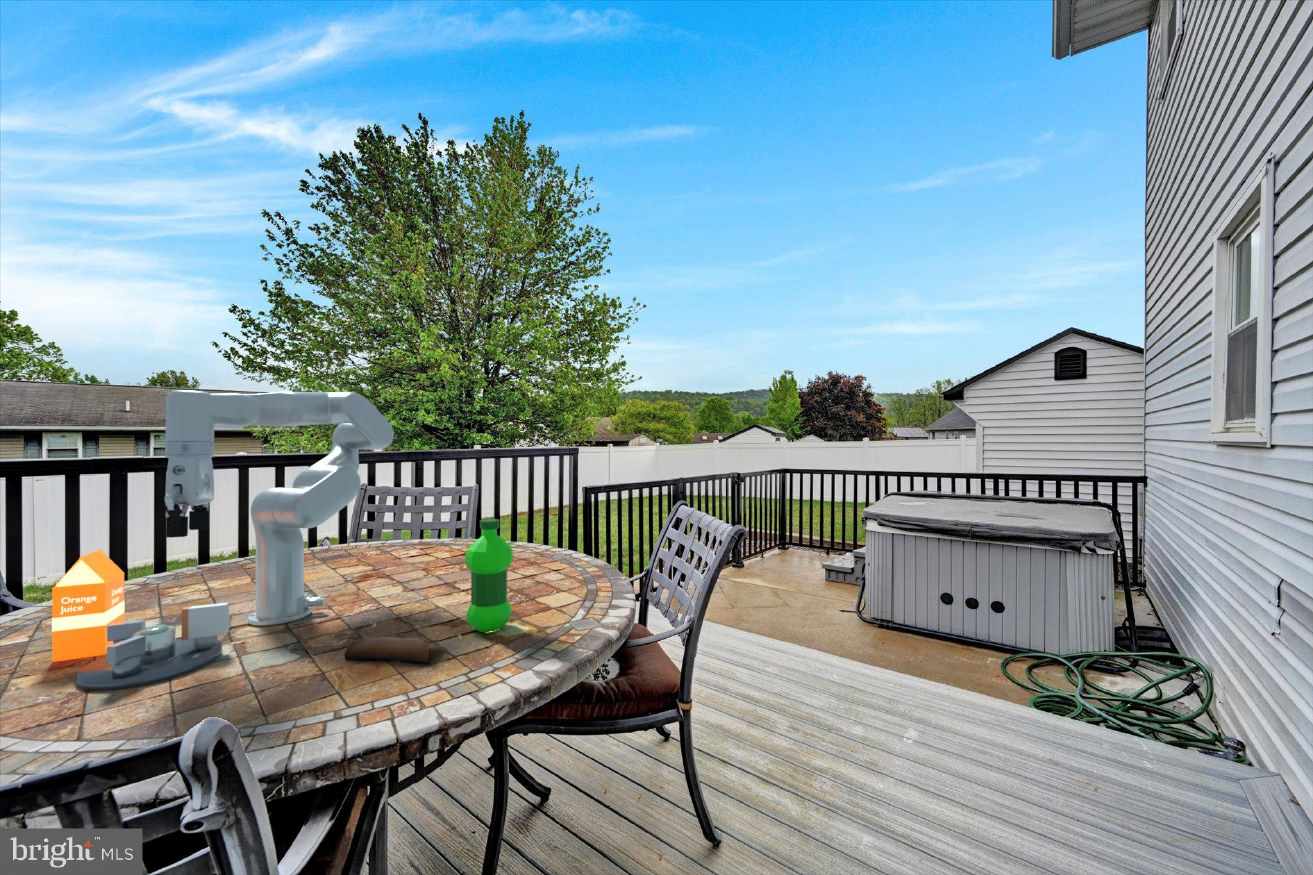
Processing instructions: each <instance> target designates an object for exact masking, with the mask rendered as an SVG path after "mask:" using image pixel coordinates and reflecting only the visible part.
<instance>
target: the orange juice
mask: <svg viewBox="0 0 1313 875" xmlns="http://www.w3.org/2000/svg"><path fill="white" fill-rule="evenodd" d="M51 588H52V589H51V590H52V595H51V596H52V597H51V598H52V602H51V603H52V604H51V605H52V611H51V613H52V616H51V633H52V644H51V645H52V648H51V653H52V655H51V656H52V657H51V661H52V663H55V662H63V661H69V660H76V659H84V658H92V657H98V656H106V655H107V646H110V645H113V641H109V642H107V626H108V625H110V624H112V623H121V622H125V572H124V571H123V570H122V569H121V568H120V567H119V566H118V565H117V564H116V563H114V561H113V560H112V559H110V557H108V555H106V554H105V553H104V551H102V550H101V549H99V550H98V549H97V550H96V551H93V552H90V553H87V554H85V555H83V556H81V557H80V556H79V559H78V560H76V562H75V563H74V564H73V565H72V566H71V568H70V569H69V570H67V572H66V573H65V575H63V576H62V578H61V579H59V581H58V582H57V583H56V584H55V585H54V587H51Z"/></svg>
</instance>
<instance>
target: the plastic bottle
mask: <svg viewBox="0 0 1313 875" xmlns="http://www.w3.org/2000/svg"><path fill="white" fill-rule="evenodd" d="M499 528H500V519H496V518H487V519H486V518H485V519H481V520H479V529H480V530H481V531H482V532H481V534H482V535H481V536H480V537H479V538H477V540H476V541H474V543H473V544H471V546H469V547H468V549H467V550H466V553H465V556H464V560H465V566H466V568H467V569H468V570H469V571H470V574H471V577H470V579H471V581H470V582H471V584H470V587H471V588H470V591H471V592H470V594H471V595H470V596H471V598H470V602H471V603H470V605H469V607H468V610H467V611H466V619H467V622H468V624H469V625H470V627H472V628H473V629H475V630H476V631H477V630H478V631H481V632H489V631H495V630H498V629H500V628H501V629H502V628H503V627H504V626H506V624H508V623H509V622H508V621H509V619H510V617H511V613H512V605H511V602H510V601H509V599H508V569H509V567H511V564H512V562H513V557H514V551H513V548H512V545H511V544H509V543H508V542H507V541H506V540H505V539H503V538H502V537H500V536H499V535H498V534H497V533H498V532H497V531H498V529H499ZM501 629H500V630H501ZM478 631H477V632H478Z"/></svg>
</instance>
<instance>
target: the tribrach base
mask: <svg viewBox="0 0 1313 875" xmlns="http://www.w3.org/2000/svg"><path fill="white" fill-rule="evenodd" d="M176 632H177V631H176V626H172V625H168V624H157V625H153V626H147V627H146V619H141V620H131V621H124V622H121V623H112V624H110V625H108V626H107V642H109V641H113V645H110V646H107V654H106V655H104V656H103V657H100V658H98V659H95V660H93V661H91V662H89V663H87V664H86V665H85V666H82V667H81V668H80V669H79V670H78V671H77V674H76V685H77V687H79V688H80V689H82V690H87V691H97V692H98V691H116V690H122V689H123V690H124V689H131V688H137V687H143V686H146V685H152V684H156V683H160V682H163V681H166V680H167V681H168V680H171V679H174V678H177V677H180V676H181V677H182V676H184V675H187V674H189V673H190V674H191V673H192V672H194V671H197V670H199V669H202V668H204V667H206V666H208V665H210V664H211V663H213V662H215V661H217V659H218V658H220V657H221V655H222V653H223V643H222V642H221V641H220V640H219V639H217V644H216V645H214V646H212V647H208V648H204V649H195V648H194V638H193V639H188V640H182V638H177V639H176V637H177V636H176ZM214 660H215V661H214ZM209 663H210V664H209Z"/></svg>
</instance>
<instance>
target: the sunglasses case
mask: <svg viewBox="0 0 1313 875" xmlns="http://www.w3.org/2000/svg"><path fill="white" fill-rule="evenodd" d="M445 649H447V648H445V647H444V646H442V645H439V644H435V643H429V642H426V641H423V640H421V639H419V638H416V637H410V638H407V637H405V636H403V637H398V636H397V637H396V636H394V637H393V636H391V637H390V636H373V637H372V636H371V637H363V638H359V639H357V640H353V641H351V642H349V644H348V645H347V647H346V649H345V651H344V659H345V660H365V659H367V660H372V659H377V660H388V661H391V660H392V661H393V660H397V661H405V662H406V661H407V662H421V663H427V664H429V665H431V664H433V663H434V662H435V661H436V660H437V659H438V658H440V657H441V656H442V655H443V654H444V653H445V652H446V651H445ZM444 651H445V652H444ZM443 652H444V653H443ZM442 653H443V654H442ZM441 654H442V655H441ZM440 655H441V656H440ZM439 656H440V657H439ZM436 658H437V659H436ZM434 660H435V661H434ZM433 661H434V662H433Z"/></svg>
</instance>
